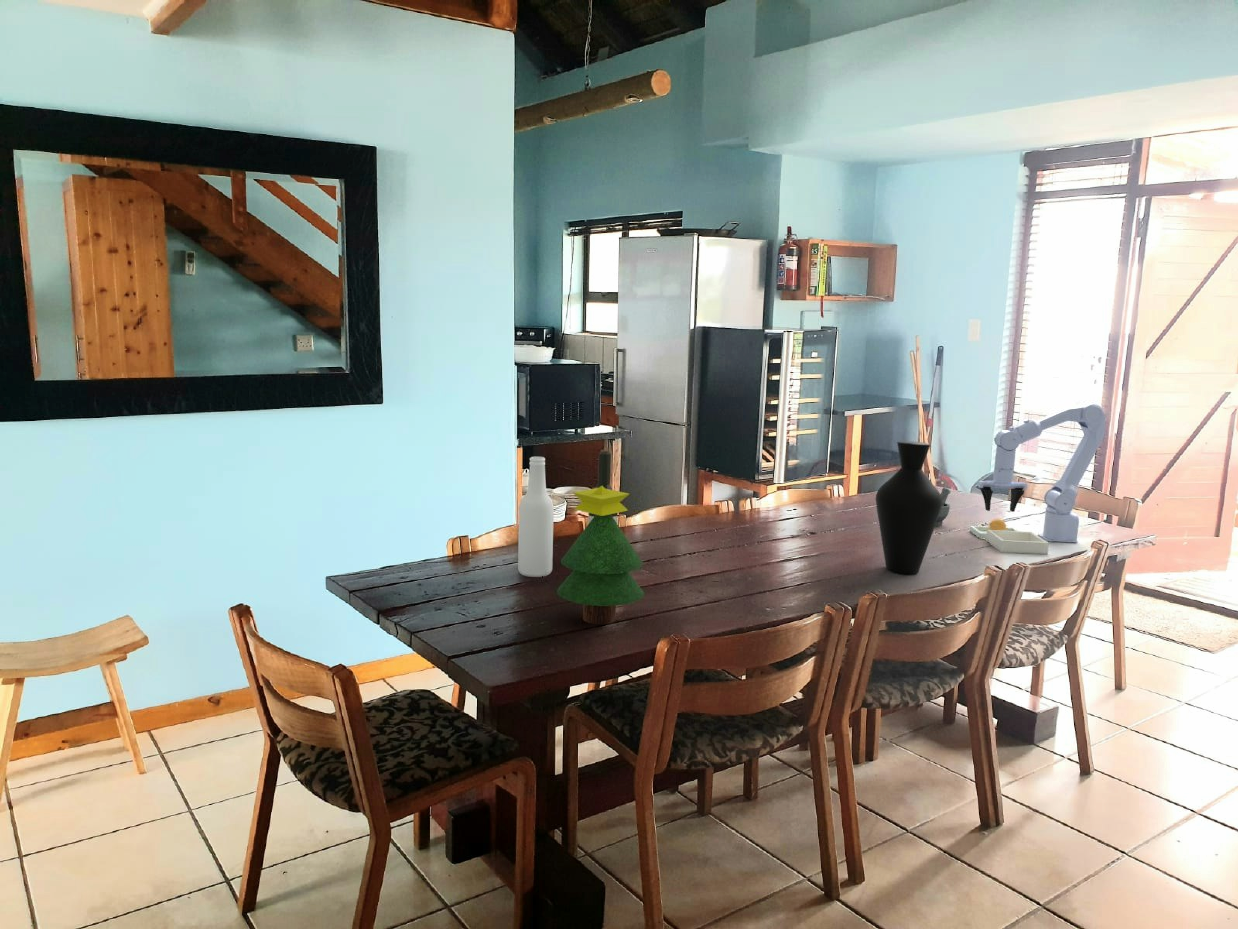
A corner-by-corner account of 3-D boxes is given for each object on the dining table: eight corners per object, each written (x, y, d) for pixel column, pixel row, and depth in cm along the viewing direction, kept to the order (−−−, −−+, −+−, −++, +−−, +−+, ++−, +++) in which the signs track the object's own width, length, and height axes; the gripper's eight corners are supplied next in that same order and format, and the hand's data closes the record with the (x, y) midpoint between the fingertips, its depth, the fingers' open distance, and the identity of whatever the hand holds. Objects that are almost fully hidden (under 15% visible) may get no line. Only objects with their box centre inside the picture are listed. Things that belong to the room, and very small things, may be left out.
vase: (926, 583, 246) (938, 450, 240) (861, 571, 255) (872, 443, 249) (942, 569, 260) (954, 443, 254) (880, 558, 269) (890, 436, 263)
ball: (1002, 532, 304) (1003, 517, 303) (1008, 536, 299) (1009, 521, 298) (986, 532, 304) (987, 517, 303) (992, 536, 299) (993, 521, 298)
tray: (1013, 533, 306) (1014, 527, 306) (1025, 541, 296) (1025, 535, 296) (969, 531, 307) (970, 525, 307) (979, 538, 297) (980, 533, 297)
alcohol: (520, 567, 248) (522, 454, 243) (553, 568, 248) (556, 455, 242) (515, 576, 239) (517, 459, 234) (550, 578, 239) (553, 461, 234)
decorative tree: (601, 640, 197) (606, 499, 192) (538, 617, 209) (541, 484, 204) (660, 619, 211) (666, 487, 206) (597, 599, 223) (601, 474, 218)
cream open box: (1030, 542, 294) (1031, 531, 294) (1047, 554, 281) (1048, 542, 280) (985, 540, 295) (987, 529, 294) (1000, 552, 281) (1002, 540, 281)
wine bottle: (594, 564, 253) (597, 453, 248) (581, 556, 260) (584, 448, 255) (621, 561, 257) (626, 452, 252) (608, 553, 264) (611, 447, 259)
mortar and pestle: (933, 528, 309) (937, 492, 307) (911, 522, 317) (914, 487, 315) (957, 525, 315) (960, 490, 313) (934, 519, 322) (938, 485, 320)
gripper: (984, 469, 294) (980, 512, 297) (1032, 471, 294) (1027, 514, 296) (977, 465, 301) (973, 507, 304) (1023, 467, 301) (1019, 509, 303)
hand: (999, 510), depth 300 cm, fingers open, 7 cm apart
